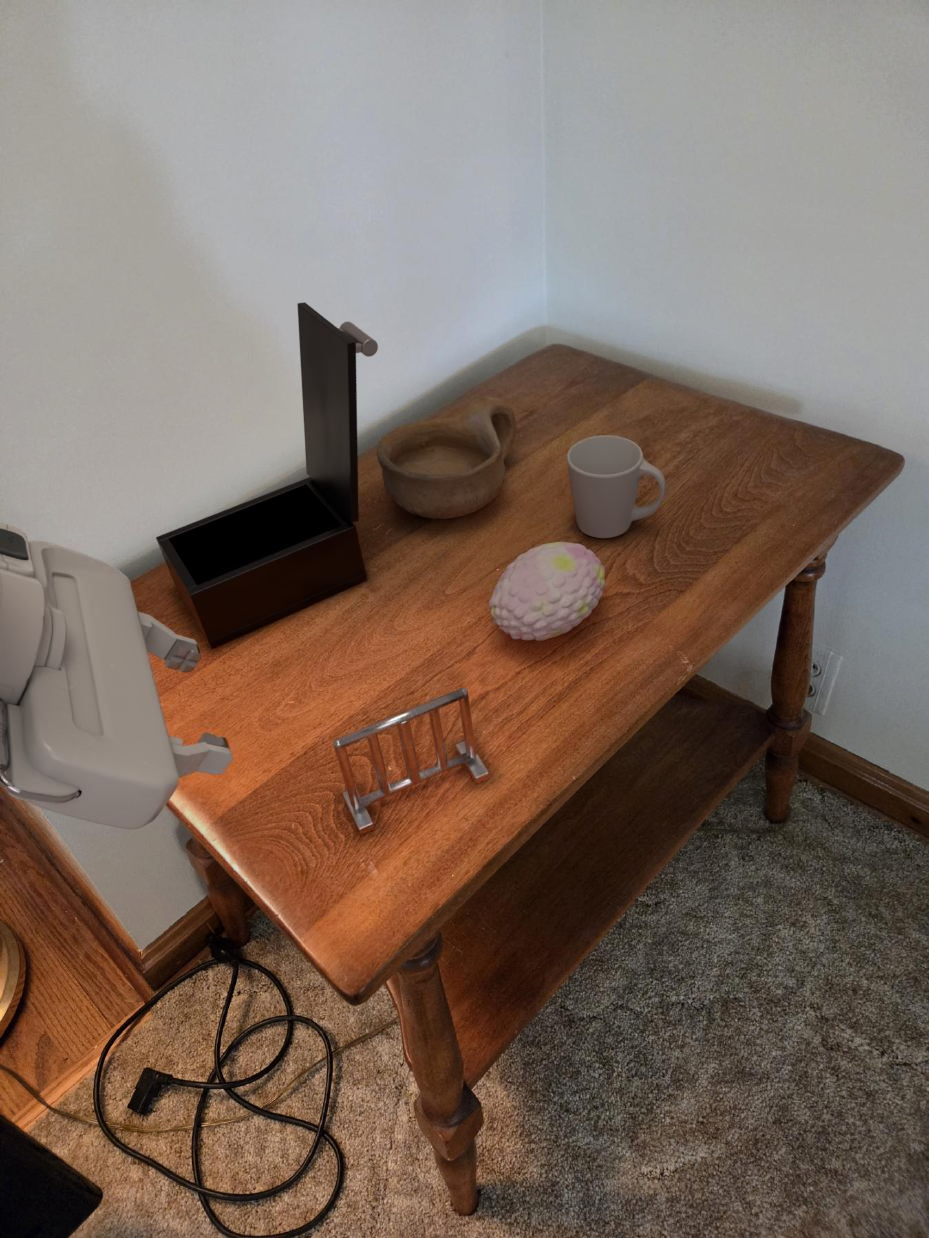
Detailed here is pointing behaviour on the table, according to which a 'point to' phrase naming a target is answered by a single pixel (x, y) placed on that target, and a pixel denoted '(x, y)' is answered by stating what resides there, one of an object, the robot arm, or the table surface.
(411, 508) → the bowl
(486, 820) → the table surface
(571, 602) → the decorative item
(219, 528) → the oven
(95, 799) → the robot arm
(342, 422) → the oven door
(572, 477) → the cup
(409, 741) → the rack
